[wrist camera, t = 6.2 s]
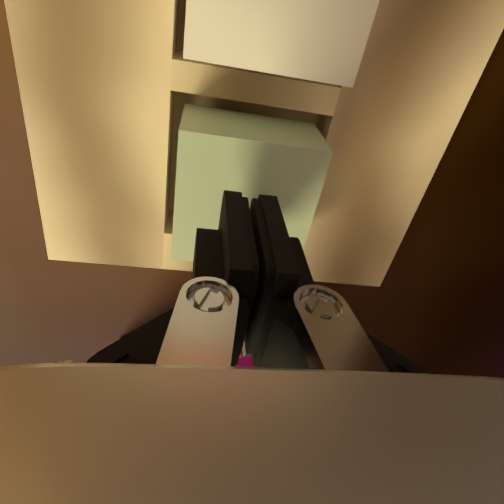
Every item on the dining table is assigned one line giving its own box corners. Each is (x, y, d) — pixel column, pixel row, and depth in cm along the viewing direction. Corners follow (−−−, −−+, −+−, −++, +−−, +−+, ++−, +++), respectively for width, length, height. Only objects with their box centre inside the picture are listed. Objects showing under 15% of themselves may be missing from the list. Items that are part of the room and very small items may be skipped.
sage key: (314, 123, 15) (333, 151, 12) (285, 230, 18) (296, 270, 15) (184, 103, 14) (178, 130, 12) (177, 218, 17) (170, 259, 14)
